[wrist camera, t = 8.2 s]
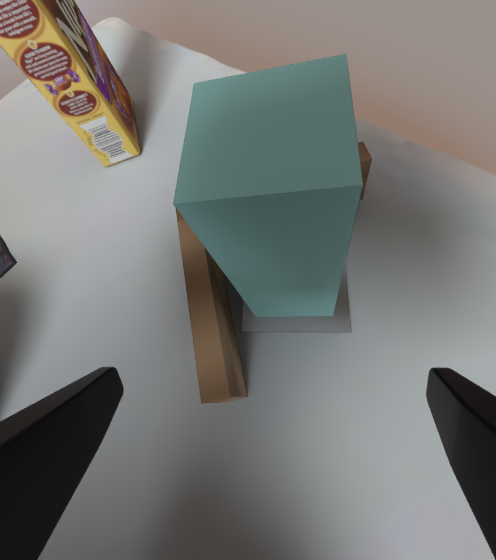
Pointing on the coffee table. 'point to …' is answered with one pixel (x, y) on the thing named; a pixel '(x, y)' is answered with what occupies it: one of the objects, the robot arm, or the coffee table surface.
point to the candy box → (71, 73)
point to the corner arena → (218, 320)
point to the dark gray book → (5, 258)
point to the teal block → (274, 182)
